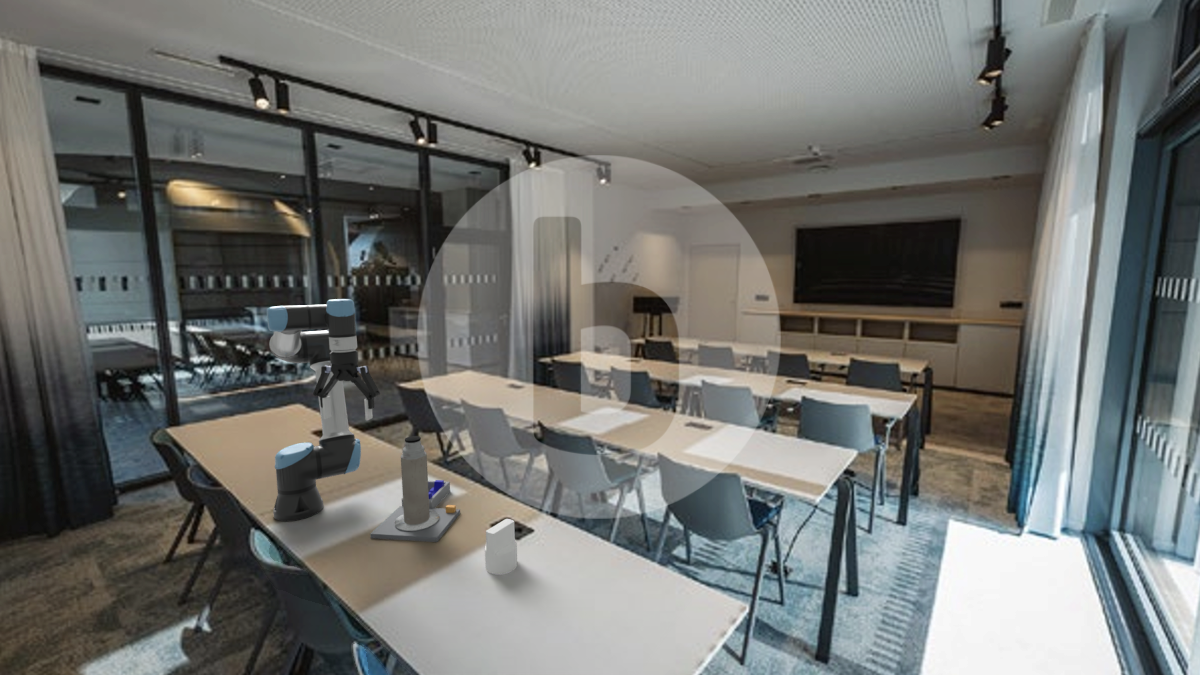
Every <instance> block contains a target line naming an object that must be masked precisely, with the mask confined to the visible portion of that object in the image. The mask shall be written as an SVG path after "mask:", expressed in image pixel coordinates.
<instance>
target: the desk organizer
mask: <svg viewBox="0 0 1200 675" xmlns="http://www.w3.org/2000/svg"><path fill="white" fill-rule="evenodd" d="M435 481H436V480H428V492H429V491H430V490H431V489H432V488H434V482H435ZM450 483H451V482H450V481H444V485H443V486H442V487H441V488H440V489H439V490H438V491H437V492H436V493H435V494H434V495H433V497H432V498H431V499H429V508H437V507H438V506H439V504H440V503H441V502H442V501H443V500H444V499H445V498H446V497H447V496H448V495H449V494H450V493H451V484H450ZM401 506H403V497H402V498H401Z"/></svg>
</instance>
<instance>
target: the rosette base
mask: <svg viewBox="0 0 1200 675" xmlns="http://www.w3.org/2000/svg"><path fill="white" fill-rule="evenodd" d="M456 506H457V505H456V504H447V505H446V506H445V508H443V507H441V508H440V507H439V508H438V507H435V508H429V512H430V518H429V520H428V521H426V522H424V523H422V524H418V525H408V524H406V523H405V522H404V509H403V506H402V505H400V506H399V507H397V508H396V509H395V510H394V511H393V512H392V513H391V514H390V515H388V517H386V518H385V519H384V521H382V522H381V523H380V524H379V525H378V526H377V527H375V528H374V530H373V531H371V533H369V536H370V539H379V540H395V541H396V540H397V541H413V542H427V543H429V542H431V543H432V542H433V543H438V542H439V540H440V539H441V538H442V537H443V535H445V534H446V532H447V531H448V530H449V528H450V527H451V526H452V524H453V523H454V522H455V521H456V519H457V518H458V517H459V516H460V514H461V509H460V508H459V509H458V508H457V507H456Z"/></svg>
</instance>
